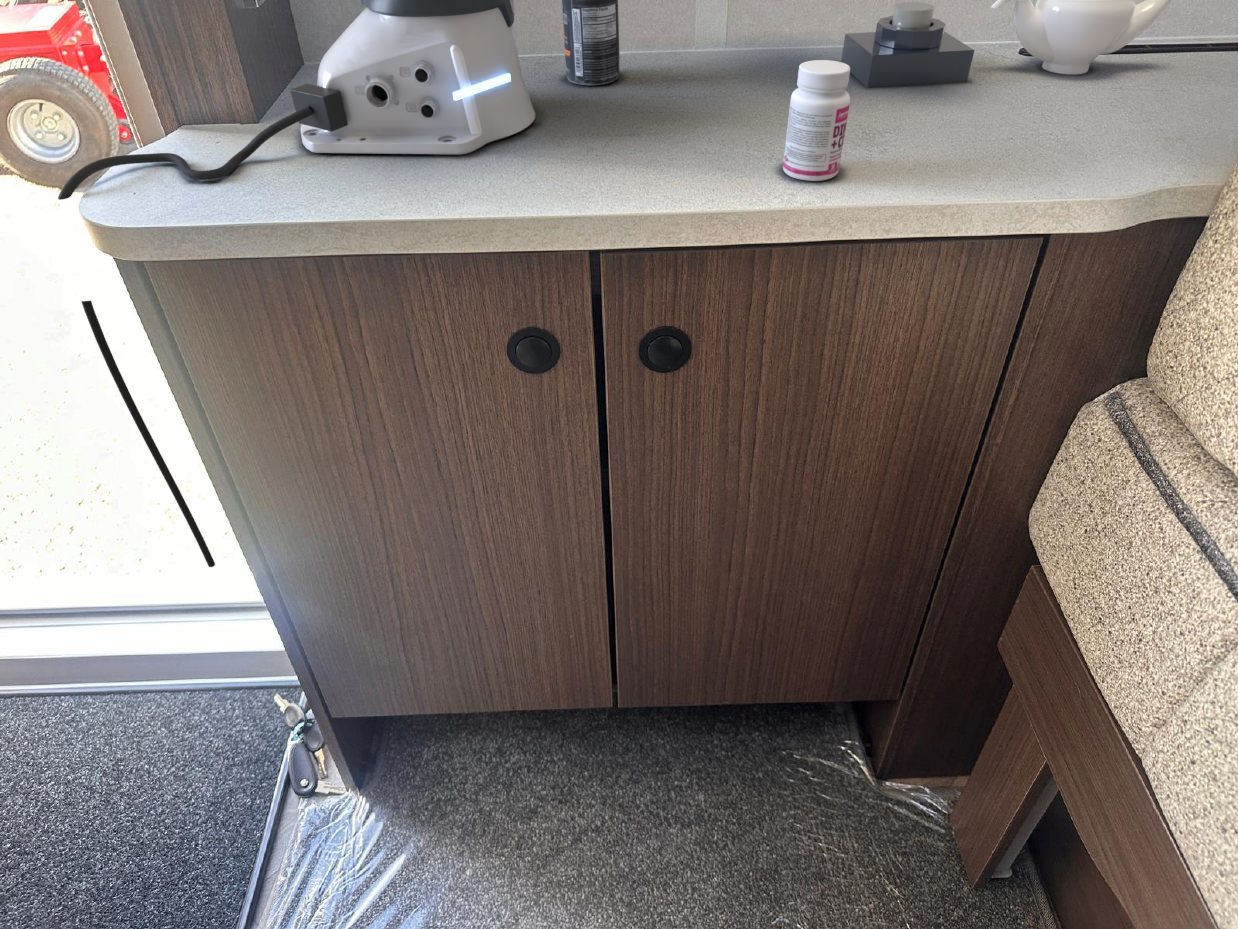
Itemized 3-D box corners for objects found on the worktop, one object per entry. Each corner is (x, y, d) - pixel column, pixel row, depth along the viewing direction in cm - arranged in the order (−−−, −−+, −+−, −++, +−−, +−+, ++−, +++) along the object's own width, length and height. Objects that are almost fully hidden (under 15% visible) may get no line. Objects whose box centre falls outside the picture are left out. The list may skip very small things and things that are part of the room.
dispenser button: (899, 32, 88) (903, 11, 86) (885, 23, 91) (889, 2, 89) (936, 31, 88) (940, 9, 87) (921, 21, 91) (925, 0, 90)
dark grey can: (574, 69, 96) (568, -45, 88) (624, 71, 95) (623, -44, 87) (560, 85, 91) (552, -34, 84) (613, 87, 90) (610, -33, 83)
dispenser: (867, 87, 89) (875, 36, 85) (840, 63, 95) (847, 15, 92) (967, 82, 89) (979, 30, 86) (933, 58, 96) (943, 10, 93)
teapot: (960, 58, 96) (982, -35, 90) (1134, 54, 96) (1167, -39, 90) (990, 83, 89) (1015, -16, 83) (1178, 79, 89) (1217, -20, 83)
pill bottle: (838, 184, 69) (855, 76, 64) (780, 180, 70) (792, 73, 65) (839, 162, 73) (855, 58, 67) (783, 159, 74) (795, 56, 68)
